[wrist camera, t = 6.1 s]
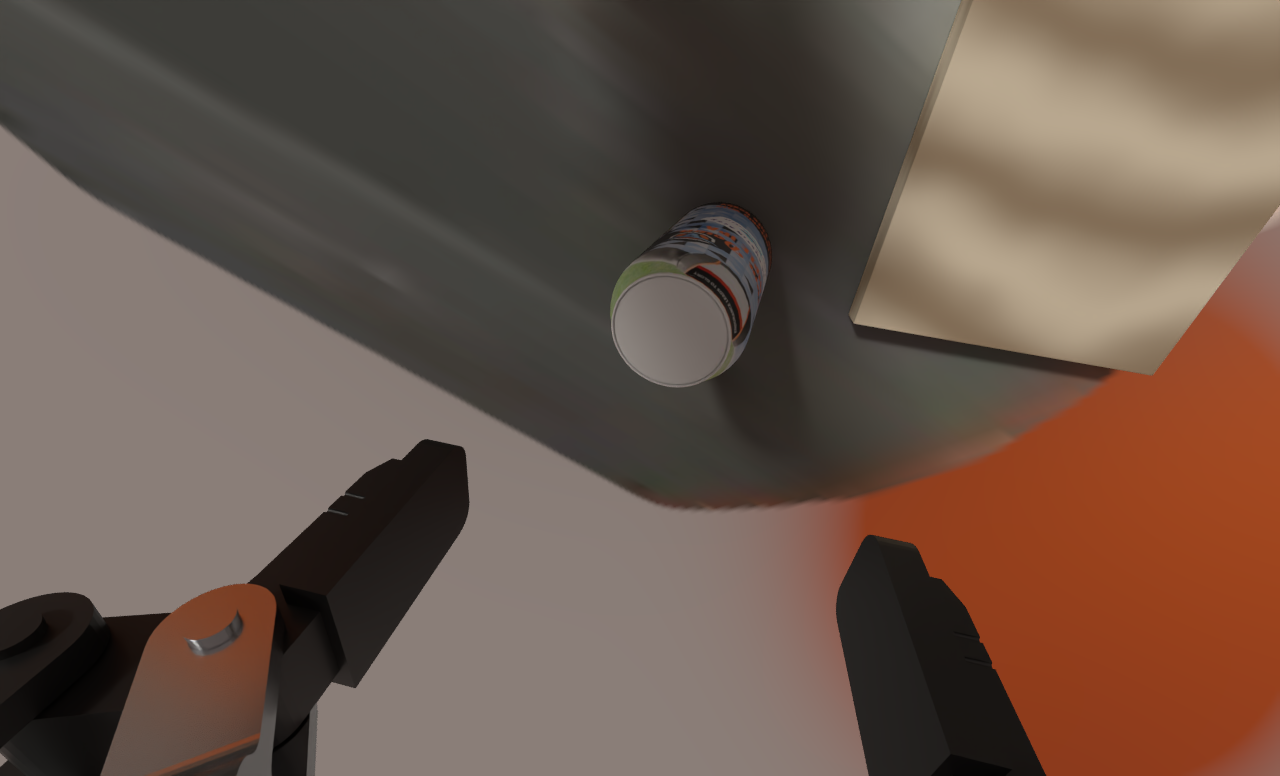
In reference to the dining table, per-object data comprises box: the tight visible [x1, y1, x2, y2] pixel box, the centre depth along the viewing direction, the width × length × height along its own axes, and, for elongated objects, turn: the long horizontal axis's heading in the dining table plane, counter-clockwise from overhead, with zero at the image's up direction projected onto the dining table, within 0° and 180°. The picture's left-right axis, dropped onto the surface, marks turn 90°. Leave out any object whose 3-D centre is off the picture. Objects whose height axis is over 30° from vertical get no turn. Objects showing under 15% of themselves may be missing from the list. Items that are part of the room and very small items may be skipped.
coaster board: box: [848, 0, 1280, 375], centre depth 24 cm, size 16×16×2 cm
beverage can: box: [610, 202, 772, 387], centre depth 24 cm, size 6×7×12 cm
